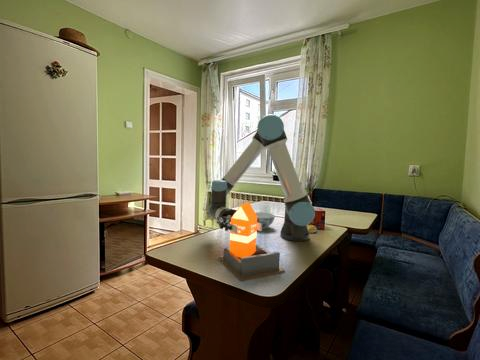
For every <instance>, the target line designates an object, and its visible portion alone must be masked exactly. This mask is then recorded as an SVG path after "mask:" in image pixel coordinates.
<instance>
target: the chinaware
mask: <svg viewBox="0 0 480 360" xmlns="http://www.w3.org/2000/svg"><path fill="white" fill-rule="evenodd" d="M254 212H255V213H256V215H257V219H258V220H259V223H260V224H262V230H263V229H264V230H265V229H268V227H269V226H271V225H272V224H273V222H274V221H275V218H276V215H275V214H273V213H271V212H264V211H261V212H257V211H254Z"/></svg>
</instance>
